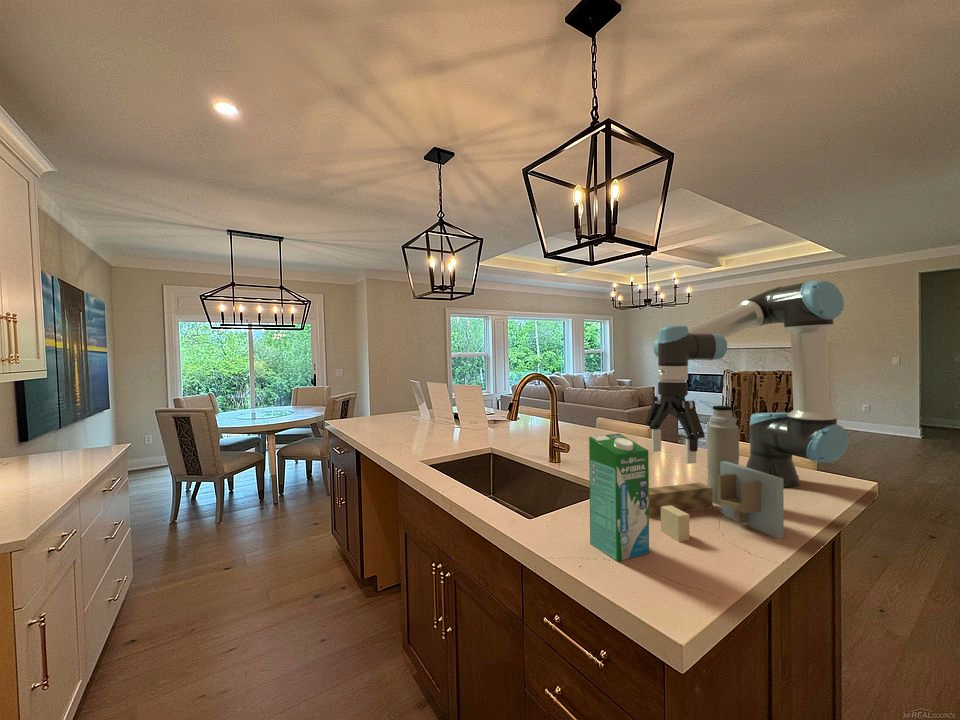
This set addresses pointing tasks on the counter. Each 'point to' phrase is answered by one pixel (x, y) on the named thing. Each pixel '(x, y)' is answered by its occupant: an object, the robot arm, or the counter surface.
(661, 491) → the brown wooden block
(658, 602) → the counter surface
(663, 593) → the counter surface
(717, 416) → the thermos bottle
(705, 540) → the counter surface
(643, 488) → the milk carton
